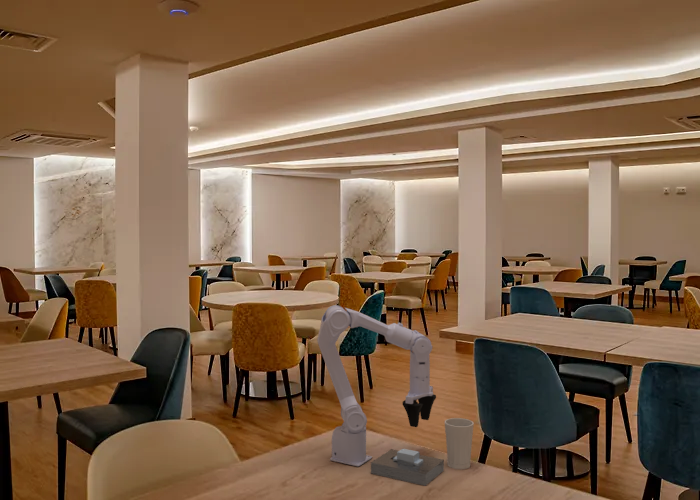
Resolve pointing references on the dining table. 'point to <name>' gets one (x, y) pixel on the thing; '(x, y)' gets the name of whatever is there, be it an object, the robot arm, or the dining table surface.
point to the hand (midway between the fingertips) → (419, 422)
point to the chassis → (407, 468)
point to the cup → (458, 442)
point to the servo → (408, 457)
